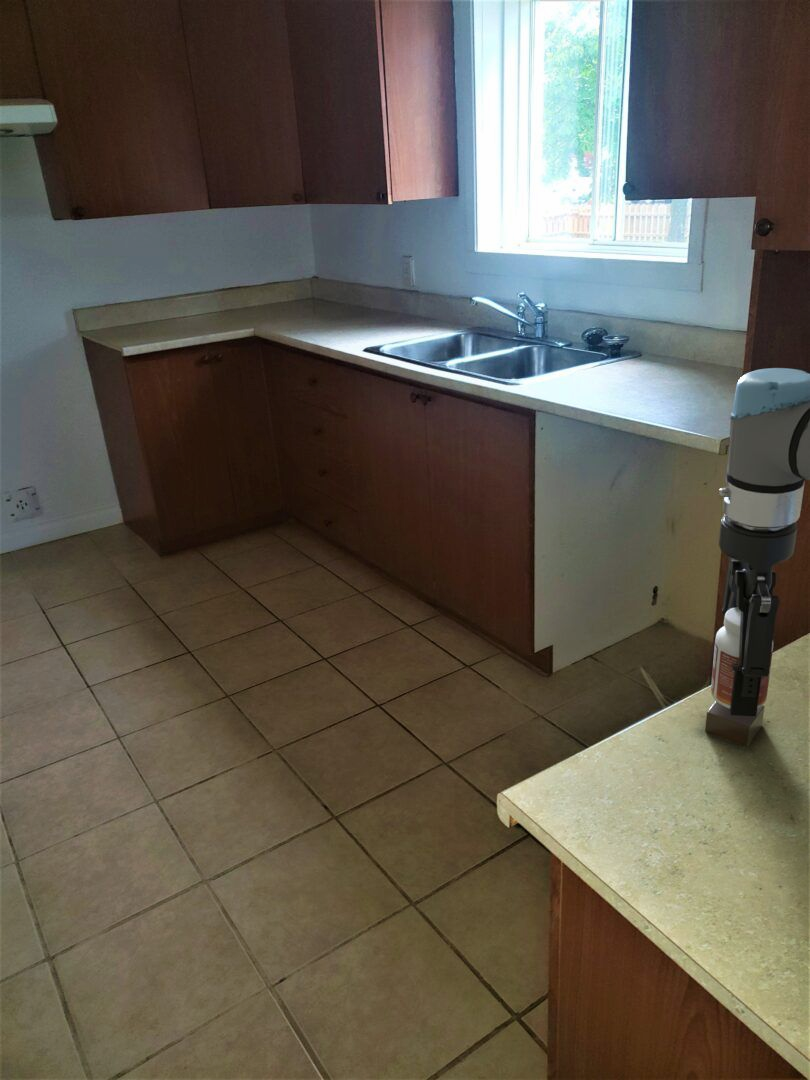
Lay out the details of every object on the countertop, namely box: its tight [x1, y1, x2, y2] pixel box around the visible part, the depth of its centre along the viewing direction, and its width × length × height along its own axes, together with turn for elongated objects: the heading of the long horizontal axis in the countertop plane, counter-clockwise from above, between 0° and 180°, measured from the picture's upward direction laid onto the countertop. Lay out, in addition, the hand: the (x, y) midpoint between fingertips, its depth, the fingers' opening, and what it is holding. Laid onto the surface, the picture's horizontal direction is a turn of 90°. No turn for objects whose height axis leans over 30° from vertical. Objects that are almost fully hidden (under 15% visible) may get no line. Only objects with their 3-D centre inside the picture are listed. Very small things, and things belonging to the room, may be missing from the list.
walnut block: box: [704, 700, 765, 748], centre depth 98 cm, size 5×5×3 cm
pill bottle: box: [710, 607, 774, 709], centre depth 94 cm, size 6×6×11 cm
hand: (737, 695), depth 96 cm, fingers closed on pill bottle, 6 cm apart
